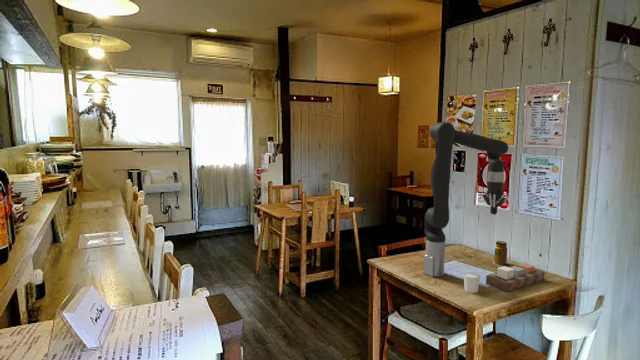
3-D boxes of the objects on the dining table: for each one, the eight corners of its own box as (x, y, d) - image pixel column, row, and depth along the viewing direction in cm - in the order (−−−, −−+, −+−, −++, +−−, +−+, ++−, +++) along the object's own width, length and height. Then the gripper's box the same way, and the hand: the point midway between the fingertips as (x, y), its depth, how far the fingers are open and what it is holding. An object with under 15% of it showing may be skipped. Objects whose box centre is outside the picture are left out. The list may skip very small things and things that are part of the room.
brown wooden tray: (507, 292, 169) (507, 283, 169) (485, 283, 179) (486, 275, 178) (544, 279, 183) (544, 271, 183) (522, 272, 193) (522, 265, 192)
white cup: (460, 287, 175) (461, 272, 174) (474, 286, 176) (475, 272, 175) (467, 293, 168) (468, 278, 167) (482, 293, 169) (483, 277, 168)
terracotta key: (527, 276, 181) (528, 267, 181) (517, 272, 186) (518, 264, 185) (534, 274, 184) (534, 266, 183) (524, 270, 188) (524, 263, 187)
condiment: (491, 261, 209) (492, 240, 208) (506, 261, 209) (507, 240, 208) (497, 266, 202) (498, 244, 201) (513, 266, 202) (514, 244, 201)
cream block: (506, 279, 173) (507, 271, 173) (496, 276, 178) (497, 267, 177) (513, 277, 176) (514, 269, 175) (503, 274, 180) (504, 266, 180)
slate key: (517, 279, 177) (517, 271, 177) (507, 275, 182) (508, 267, 181) (523, 277, 180) (524, 269, 179) (514, 273, 184) (514, 265, 184)
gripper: (479, 179, 196) (477, 212, 198) (502, 182, 185) (500, 217, 187) (488, 178, 200) (487, 211, 202) (512, 181, 188) (510, 215, 191)
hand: (493, 214), depth 195 cm, fingers closed
